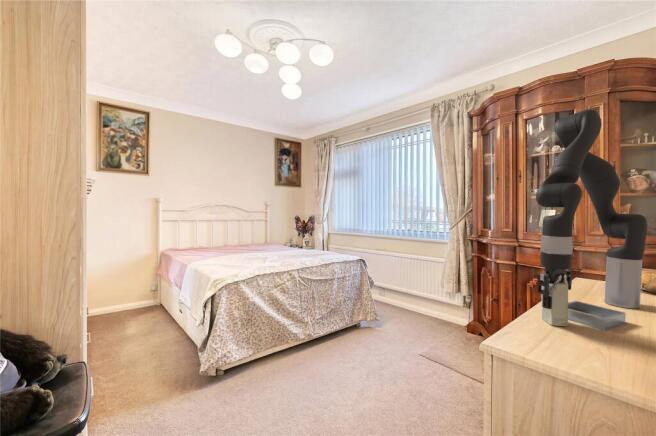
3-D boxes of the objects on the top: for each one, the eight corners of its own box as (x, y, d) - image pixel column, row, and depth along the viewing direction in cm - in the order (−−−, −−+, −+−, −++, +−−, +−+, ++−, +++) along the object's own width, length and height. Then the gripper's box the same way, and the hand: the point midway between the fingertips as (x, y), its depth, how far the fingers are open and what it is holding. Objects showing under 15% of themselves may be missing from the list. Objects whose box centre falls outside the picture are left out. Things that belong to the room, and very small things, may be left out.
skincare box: (568, 327, 85) (569, 285, 84) (550, 325, 86) (552, 284, 85) (556, 318, 91) (557, 279, 90) (539, 317, 92) (541, 278, 91)
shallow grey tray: (575, 309, 100) (575, 300, 100) (625, 322, 89) (625, 312, 89) (554, 314, 95) (554, 305, 94) (604, 329, 83) (605, 319, 83)
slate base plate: (573, 310, 101) (573, 308, 101) (629, 325, 88) (629, 323, 88) (550, 316, 95) (550, 314, 95) (606, 334, 82) (606, 331, 82)
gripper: (555, 248, 94) (553, 299, 95) (528, 250, 87) (526, 306, 88) (584, 251, 87) (581, 306, 88) (557, 254, 81) (554, 314, 81)
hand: (554, 306), depth 88 cm, fingers closed on skincare box, 7 cm apart
